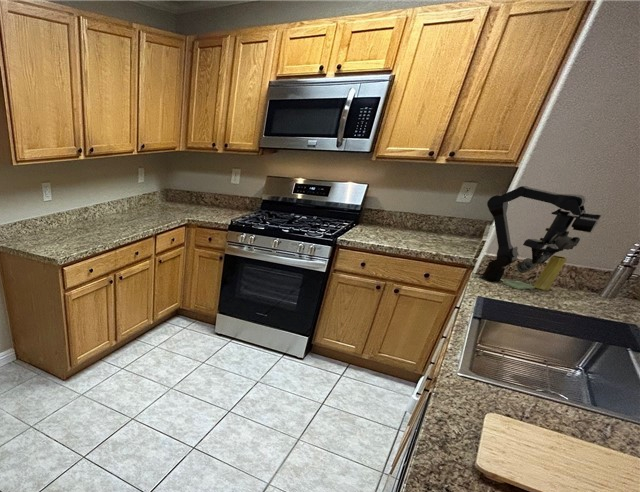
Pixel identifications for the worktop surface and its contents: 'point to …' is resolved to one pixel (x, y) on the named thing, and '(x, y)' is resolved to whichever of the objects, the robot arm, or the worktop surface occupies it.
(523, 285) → the mat
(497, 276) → the robot arm
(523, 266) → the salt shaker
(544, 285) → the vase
